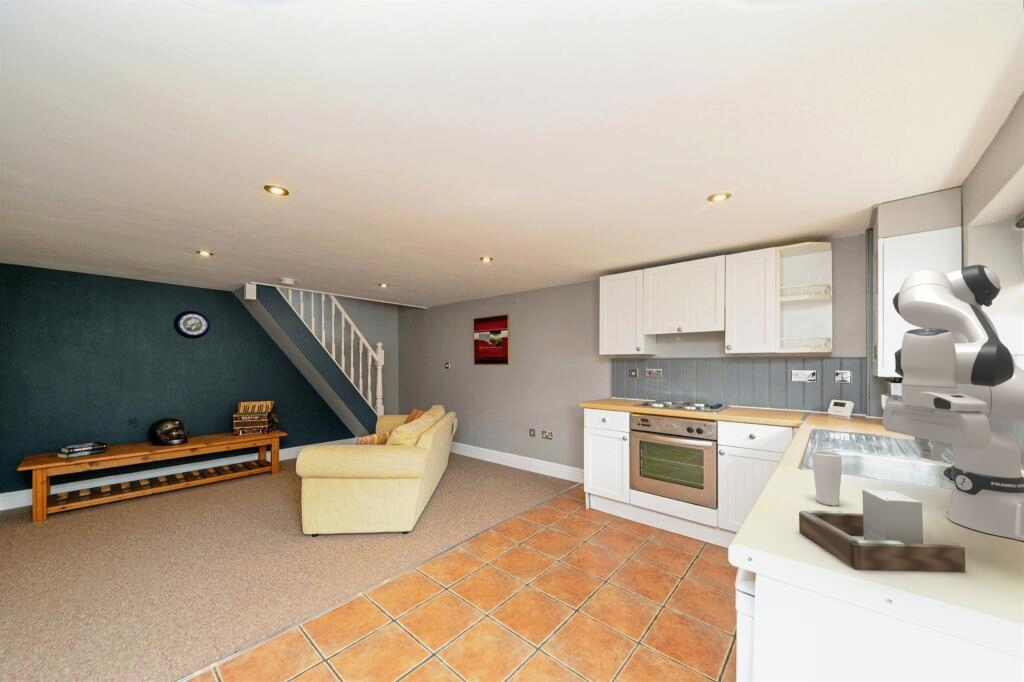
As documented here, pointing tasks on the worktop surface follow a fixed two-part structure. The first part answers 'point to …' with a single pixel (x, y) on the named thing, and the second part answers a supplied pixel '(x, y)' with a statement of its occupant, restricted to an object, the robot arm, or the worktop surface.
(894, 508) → the supplement box
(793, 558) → the worktop surface
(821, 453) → the drinking glass
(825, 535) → the wooden serving tray
